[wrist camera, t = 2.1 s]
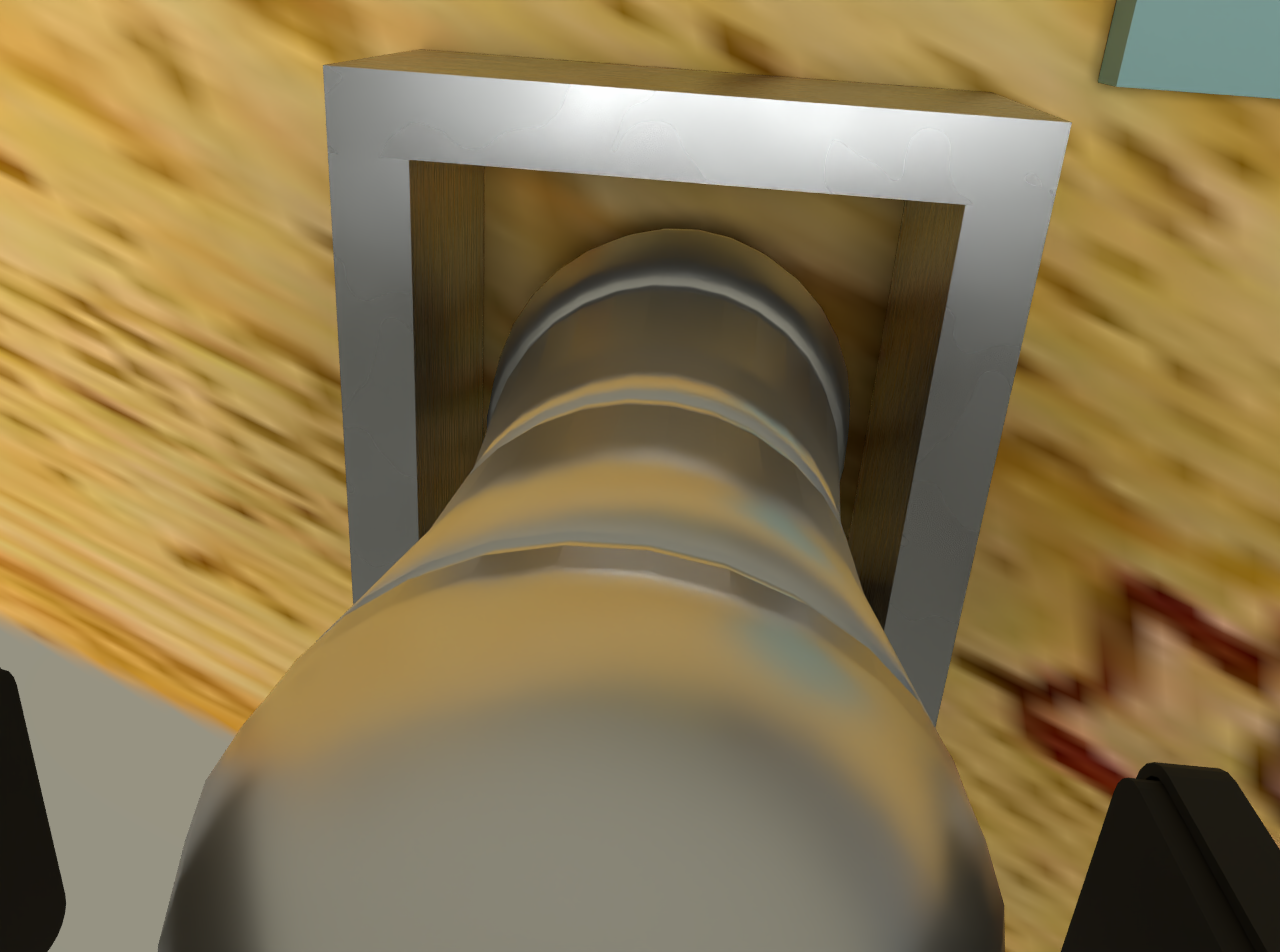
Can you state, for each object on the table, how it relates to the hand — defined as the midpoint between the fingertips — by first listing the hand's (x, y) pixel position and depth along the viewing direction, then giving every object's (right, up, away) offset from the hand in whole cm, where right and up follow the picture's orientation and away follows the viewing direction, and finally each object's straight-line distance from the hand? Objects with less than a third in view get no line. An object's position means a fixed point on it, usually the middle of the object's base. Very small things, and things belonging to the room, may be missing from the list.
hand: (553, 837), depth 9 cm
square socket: (+1, +5, +12) cm, 14 cm away
